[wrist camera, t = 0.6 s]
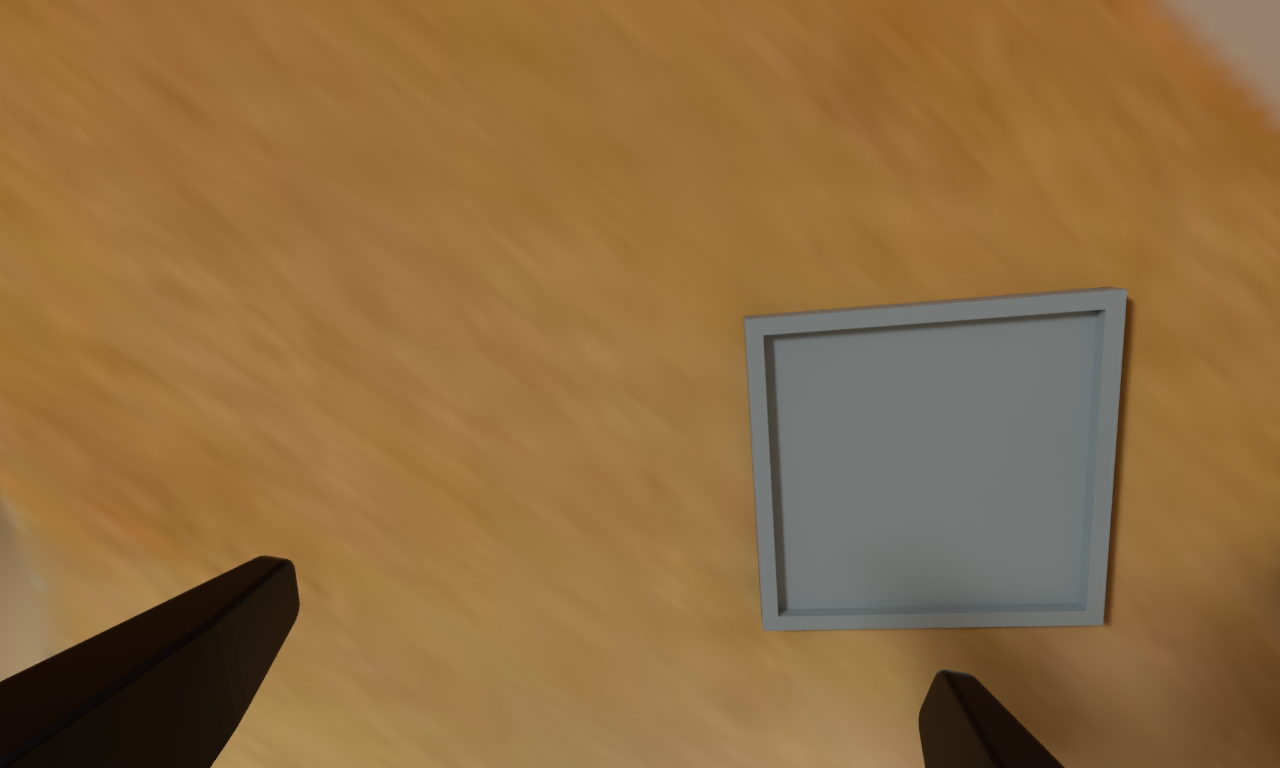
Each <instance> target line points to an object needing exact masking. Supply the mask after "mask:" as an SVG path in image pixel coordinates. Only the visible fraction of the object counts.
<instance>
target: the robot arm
mask: <svg viewBox="0 0 1280 768" xmlns="http://www.w3.org/2000/svg"><path fill="white" fill-rule="evenodd" d="M299 606H300V601H299V594H298V587H297V579H296V572H295V567H294V564H293V563H292V561H290V560H288V559H284V558H278V557H272V556H259V557H257V558H254V559H252V560H250V561H248V562H246V563H244V564H242V565H240V566H238V567H236V568H234V569H232V570H230V571H228V572H225V573H223V574H221V575H219V576H217V577H215V578H213V579H211V580H209V581H207V582H205V583H203V584H201V585H199V586H197V587H195V588H192V589H190V590H188V591H186V592H184V593H182V594H180V595H178V596H176V597H174V598H172V599H170V600H168V601H166V602H164V603H162V604H159V605H157V606H155V607H153V608H151V609H149V610H147V611H145V612H143V613H141V614H139V615H137V616H135V617H133V618H131V619H129V620H126V621H124V622H122V623H120V624H118V625H116V626H114V627H112V628H110V629H108V630H106V631H104V632H102V633H100V634H98V635H95V636H93V637H91V638H89V639H87V640H85V641H83V642H81V643H79V644H77V645H75V646H73V647H71V648H69V649H67V650H65V651H62V652H60V653H58V654H56V655H54V656H52V657H50V658H48V659H46V660H44V661H42V662H40V663H38V664H36V665H34V666H32V667H30V668H27V669H25V670H23V671H21V672H19V673H17V674H15V675H13V676H11V677H9V678H7V679H5V680H3V681H1V682H0V768H210V767H211V766H212V764H213V763H214V761H215V760H216V758H217V757H218V755H219V754H220V752H221V751H222V749H223V748H224V747H225V745H226V744H227V742H228V740H229V739H230V737H231V736H232V734H233V733H234V731H235V730H236V728H237V726H238V725H239V723H240V721H241V720H242V718H243V716H244V714H245V713H246V711H247V709H248V707H249V706H250V704H251V702H252V700H253V698H254V696H255V695H256V693H257V691H258V689H259V687H260V685H261V684H262V682H263V680H264V678H265V676H266V674H267V672H268V671H269V669H270V667H271V665H272V663H273V661H274V660H275V658H276V656H277V654H278V652H279V650H280V649H281V647H282V645H283V643H284V641H285V639H286V637H287V636H288V634H289V632H290V630H291V628H292V626H293V625H294V623H295V621H296V618H297V616H298V612H299ZM919 733H920V739H921V745H922V751H923V757H924V763H925V768H1065V767H1064V766H1063V765H1062V764H1061V763H1060V762H1059V761H1058V760H1057V759H1056V758H1055V757H1054V756H1053V755H1052V754H1051V753H1050V752H1049V751H1048V750H1047V749H1046V748H1045V747H1044V746H1043V745H1042V744H1041V743H1040V742H1039V741H1038V740H1037V739H1036V738H1035V737H1034V736H1033V735H1032V734H1031V733H1030V732H1029V731H1028V730H1027V729H1026V728H1025V727H1024V726H1023V725H1022V724H1021V723H1020V722H1019V721H1018V720H1017V719H1016V718H1015V717H1014V716H1013V715H1012V714H1011V713H1010V712H1009V711H1008V710H1007V709H1006V708H1005V707H1004V706H1003V705H1002V704H1001V703H1000V702H999V701H998V700H997V699H996V698H995V697H994V696H993V695H992V694H991V693H990V692H989V691H988V690H987V689H986V688H985V687H984V686H983V685H982V684H981V682H980V681H979V680H977V679H976V678H975V677H974V676H972V675H970V674H967V673H961V672H955V671H950V670H941V671H939V672H938V673H937V674H936V676H935V677H934V680H933V682H932V684H931V686H930V689H929V691H928V693H927V695H926V698H925V700H924V702H923V704H922V707H921V709H920V713H919Z"/></svg>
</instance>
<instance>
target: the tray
mask: <svg viewBox="0 0 1280 768" xmlns="http://www.w3.org/2000/svg"><path fill="white" fill-rule="evenodd" d="M1126 298H1127V289H1122V288H1115V287H1103V288H1091V289H1078V290H1066V291H1054V292H1041V293H1029V294H1016V295H1004V296H991V297H979V298H967V299H954V300H942V301H929V302H917V303H904V304H892V305H879V306H867V307H855V308H842V309H830V310H817V311H805V312H792V313H780V314H768V315H755V316H744V329H745V346H746V363H747V379H748V396H749V413H750V430H751V446H752V463H753V480H754V496H755V513H756V530H757V546H758V563H759V580H760V596H761V613H762V623H763V631H778V630H840V629H902V628H964V627H1026V626H1088V625H1103V619H1104V606H1105V592H1106V578H1107V564H1108V550H1109V536H1110V522H1111V508H1112V494H1113V480H1114V466H1115V452H1116V438H1117V424H1118V410H1119V396H1120V382H1121V368H1122V354H1123V340H1124V326H1125V312H1126Z"/></svg>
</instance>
